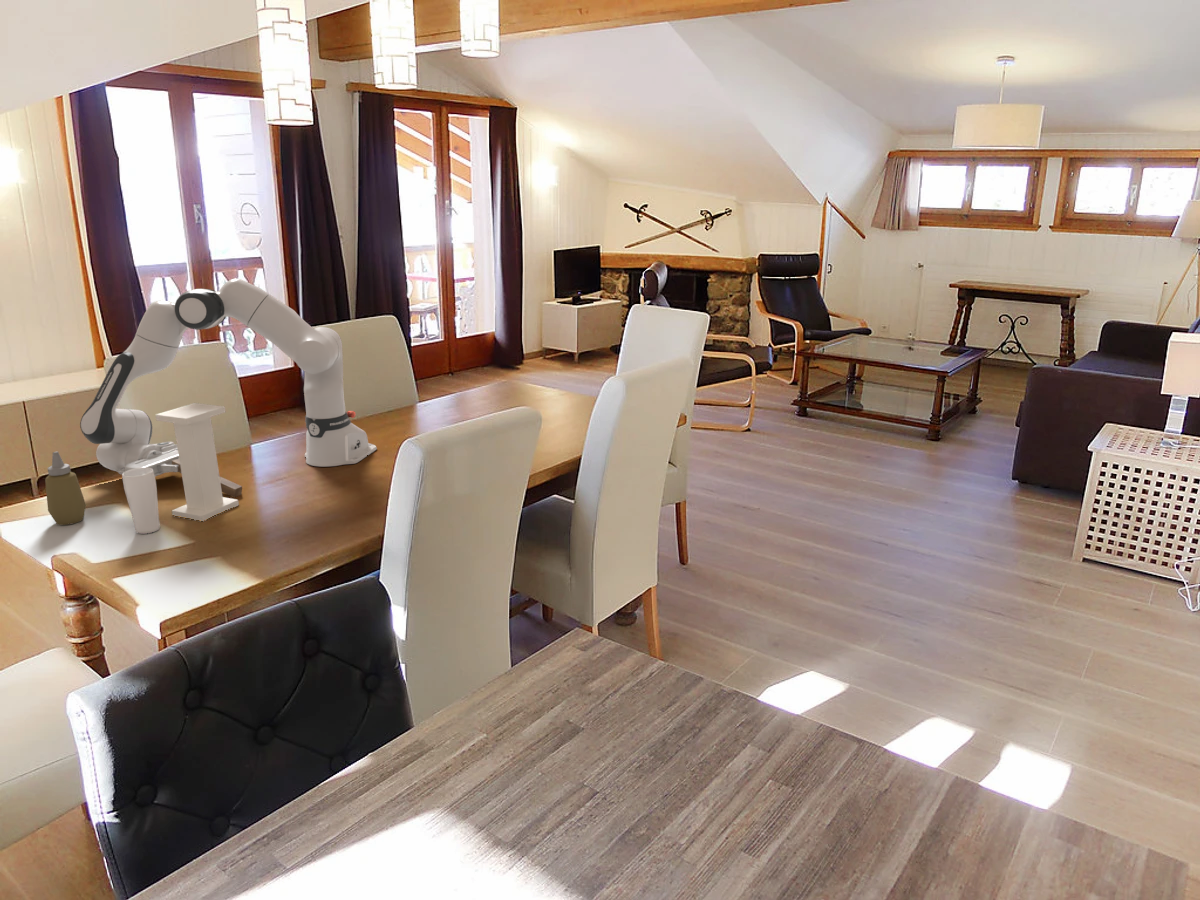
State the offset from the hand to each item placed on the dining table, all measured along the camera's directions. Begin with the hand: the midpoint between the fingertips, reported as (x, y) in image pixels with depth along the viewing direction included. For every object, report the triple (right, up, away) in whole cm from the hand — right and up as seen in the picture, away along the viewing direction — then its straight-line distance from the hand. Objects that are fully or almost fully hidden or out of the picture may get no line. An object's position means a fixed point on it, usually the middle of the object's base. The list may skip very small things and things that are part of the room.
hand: (184, 466), depth 234 cm
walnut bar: (+7, -4, -2) cm, 8 cm away
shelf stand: (+13, -11, -14) cm, 22 cm away
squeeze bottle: (-18, -13, -21) cm, 31 cm away
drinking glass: (+4, -15, -26) cm, 31 cm away
